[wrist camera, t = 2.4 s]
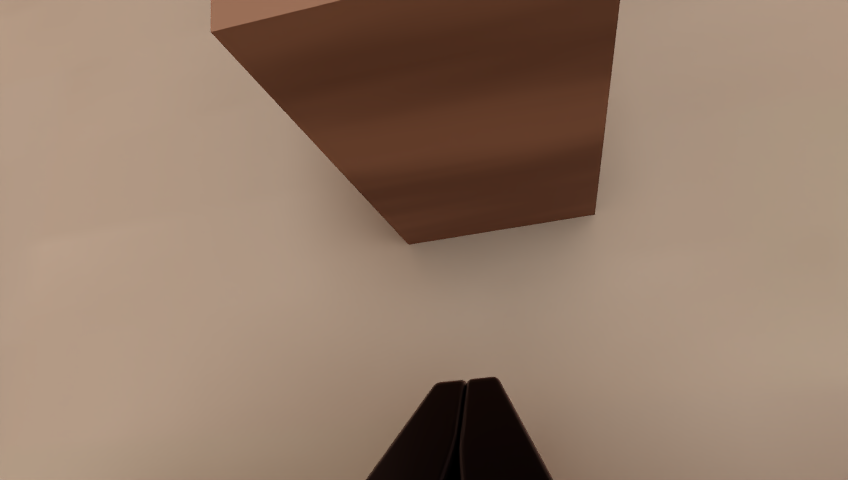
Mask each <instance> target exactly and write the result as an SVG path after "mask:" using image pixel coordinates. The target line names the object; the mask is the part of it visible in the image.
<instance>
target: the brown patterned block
mask: <svg viewBox="0 0 848 480" xmlns="http://www.w3.org/2000/svg"><path fill="white" fill-rule="evenodd" d="M619 4H620V0H211V33H212V34H213V35H214V36H215V37H216V38H217V39H218V40H219V41H220V42H221V44H222V45H223V46H224V47H225V48H226V49H227V50H228V51H229V52H230V53H231V54H232V55H233V56H234V57H235V59H236V60H237V61H238V62H239V63H240V64H241V65H242V66H243V67H244V68H245V69H246V70H247V71H248V72H249V74H250V75H251V76H252V77H253V78H254V79H255V80H256V81H257V82H258V83H259V84H260V85H261V86H262V88H263V89H264V90H265V91H266V92H267V93H268V94H269V95H270V96H271V97H272V98H273V99H274V100H275V101H276V103H277V104H278V105H279V106H280V107H281V108H282V109H283V110H284V111H285V112H286V113H287V114H288V115H289V117H290V118H291V119H292V120H293V121H294V122H295V123H296V124H297V125H298V126H299V127H300V128H301V129H302V130H303V132H304V133H305V134H306V135H307V136H308V137H309V138H310V139H311V140H312V141H313V142H314V143H315V144H316V146H317V147H318V148H319V149H320V150H321V151H322V152H323V153H324V154H325V155H326V156H327V157H328V158H329V159H330V161H331V162H332V163H333V164H334V165H335V166H336V167H337V168H338V169H339V170H340V171H341V172H342V173H343V175H344V176H345V177H346V178H347V179H348V180H349V181H350V182H351V183H352V184H353V185H354V186H355V187H356V188H357V190H358V191H359V192H360V193H361V194H362V195H363V196H364V197H365V198H366V199H367V200H368V201H369V202H370V203H371V205H372V206H373V207H374V208H375V209H376V210H377V211H378V212H379V213H380V214H381V215H382V216H383V217H384V219H385V220H386V221H387V222H388V223H389V224H390V225H391V226H392V227H393V228H394V229H395V230H396V231H397V232H398V234H399V235H400V236H401V237H402V238H403V239H404V240H405V241H406V242H407V243H408V244H415V243H421V242H427V241H434V240H440V239H446V238H452V237H458V236H464V235H471V234H477V233H483V232H489V231H495V230H502V229H508V228H514V227H520V226H526V225H532V224H539V223H545V222H551V221H557V220H563V219H570V218H576V217H582V216H588V215H594V214H595V208H596V199H597V191H598V182H599V174H600V165H601V157H602V148H603V140H604V131H605V123H606V115H607V106H608V98H609V89H610V81H611V72H612V64H613V55H614V47H615V38H616V30H617V21H618V13H619Z"/></svg>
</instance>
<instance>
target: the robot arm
mask: <svg viewBox="0 0 848 480" xmlns="http://www.w3.org/2000/svg"><path fill="white" fill-rule="evenodd" d="M366 480H553V479H552V477H551V475H550V473H549V471H548V470H547V468H546V466H545V464H544V462H543V460H542V458H541V457H540V455H539V453H538V451H537V449H536V447H535V445H534V444H533V442H532V440H531V438H530V436H529V434H528V432H527V431H526V429H525V427H524V425H523V423H522V421H521V419H520V418H519V416H518V414H517V412H516V410H515V408H514V406H513V405H512V403H511V401H510V399H509V397H508V395H507V393H506V392H505V390H504V388H503V386H502V384H501V382H500V381H499V379H498V378H496V377H486V378H477V379H470V380H469V381H468V382H467V383H466V382H465V381H463V380H457V381H448V382H440V383H437V384H436V385H434V386H433V387H432V389H431V390H430V392H429V393H428V394H427V396H426V397H425V399H424V400H423V401H422V403H421V404H420V405H419V407H418V408H417V410H416V411H415V412H414V414H413V415H412V417H411V418H410V419H409V421H408V422H407V424H406V425H405V426H404V428H403V429H402V430H401V432H400V433H399V435H398V436H397V437H396V439H395V440H394V442H393V443H392V444H391V446H390V447H389V448H388V450H387V451H386V453H385V454H384V455H383V457H382V458H381V460H380V461H379V462H378V464H377V465H376V467H375V468H374V469H373V471H372V472H371V473H370V475H369V476H368V478H367V479H366Z"/></svg>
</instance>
